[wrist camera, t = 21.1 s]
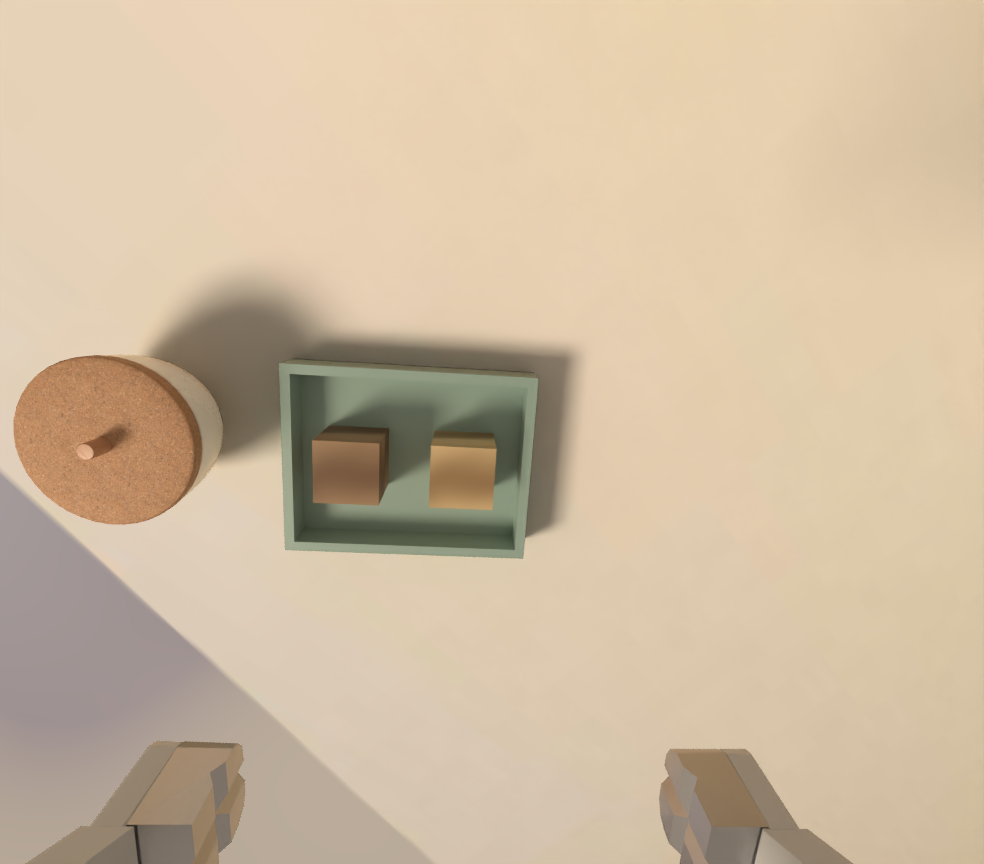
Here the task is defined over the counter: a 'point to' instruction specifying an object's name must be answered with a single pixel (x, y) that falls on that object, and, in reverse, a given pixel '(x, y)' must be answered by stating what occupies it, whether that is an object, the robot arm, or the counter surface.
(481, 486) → the oak block
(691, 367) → the counter surface
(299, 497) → the tray
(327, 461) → the walnut block
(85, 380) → the lidded jar
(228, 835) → the robot arm
